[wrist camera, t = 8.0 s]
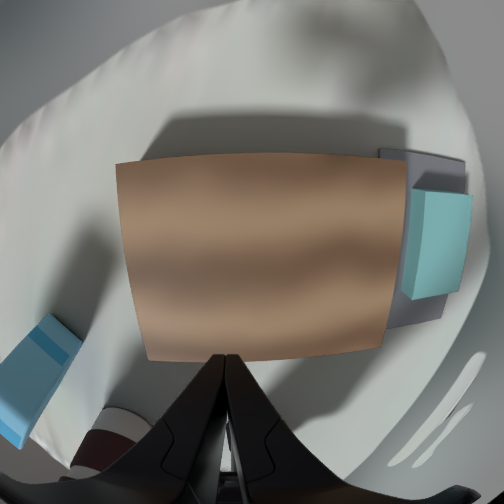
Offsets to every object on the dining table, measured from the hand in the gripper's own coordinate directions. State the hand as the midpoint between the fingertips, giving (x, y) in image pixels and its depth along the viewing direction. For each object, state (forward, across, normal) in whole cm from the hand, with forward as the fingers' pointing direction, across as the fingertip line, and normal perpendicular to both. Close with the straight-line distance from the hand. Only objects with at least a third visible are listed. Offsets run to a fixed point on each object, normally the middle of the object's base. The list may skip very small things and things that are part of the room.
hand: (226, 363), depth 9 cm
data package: (+13, +20, +12) cm, 27 cm away
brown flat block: (+12, -2, 0) cm, 13 cm away
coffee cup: (+13, +14, +22) cm, 29 cm away
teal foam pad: (+10, -18, -1) cm, 20 cm away
